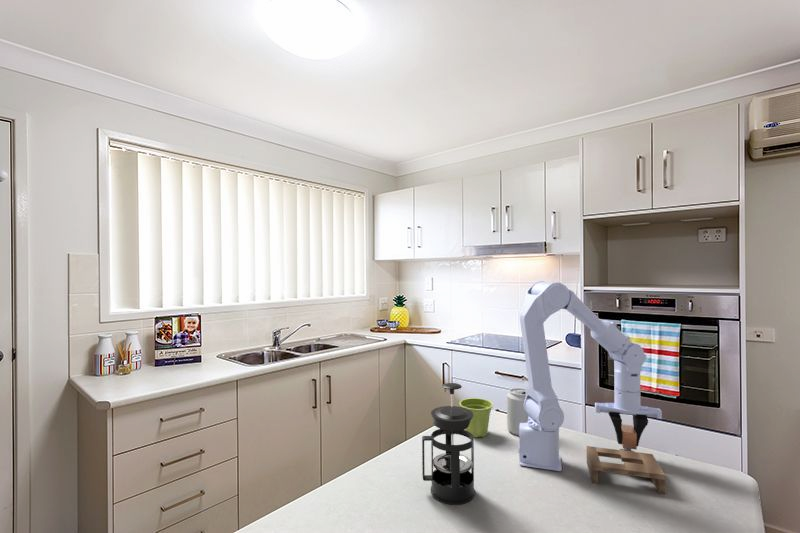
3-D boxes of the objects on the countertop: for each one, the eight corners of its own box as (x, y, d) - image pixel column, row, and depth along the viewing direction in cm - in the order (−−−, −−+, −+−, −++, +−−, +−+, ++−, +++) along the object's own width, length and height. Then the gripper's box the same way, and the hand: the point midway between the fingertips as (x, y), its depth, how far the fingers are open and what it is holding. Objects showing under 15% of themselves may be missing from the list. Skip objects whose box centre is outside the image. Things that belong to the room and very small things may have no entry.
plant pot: (485, 443, 110) (485, 411, 110) (454, 435, 115) (454, 405, 115) (497, 431, 118) (497, 401, 118) (467, 424, 123) (467, 396, 123)
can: (535, 438, 113) (535, 395, 113) (507, 436, 114) (507, 393, 114) (532, 427, 120) (532, 387, 120) (506, 425, 122) (506, 385, 122)
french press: (473, 480, 91) (472, 377, 91) (482, 504, 82) (481, 390, 82) (421, 480, 91) (420, 378, 91) (424, 505, 82) (423, 391, 82)
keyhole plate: (591, 483, 89) (591, 465, 89) (586, 462, 99) (586, 445, 99) (665, 494, 85) (665, 475, 85) (652, 471, 94) (652, 454, 94)
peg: (620, 460, 100) (620, 431, 100) (616, 451, 104) (616, 423, 104) (639, 463, 98) (638, 433, 98) (634, 453, 103) (634, 425, 103)
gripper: (656, 387, 103) (656, 440, 103) (593, 382, 108) (593, 433, 108) (664, 395, 96) (664, 452, 96) (596, 390, 101) (597, 444, 101)
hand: (627, 443), depth 101 cm, fingers closed on peg, 3 cm apart
